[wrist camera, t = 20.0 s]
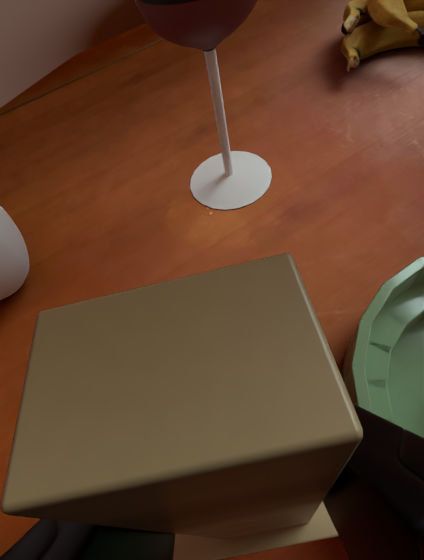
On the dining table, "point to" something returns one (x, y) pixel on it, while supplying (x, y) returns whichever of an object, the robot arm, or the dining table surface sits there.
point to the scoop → (186, 413)
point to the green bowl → (391, 352)
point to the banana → (380, 27)
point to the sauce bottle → (11, 256)
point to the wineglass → (207, 35)
